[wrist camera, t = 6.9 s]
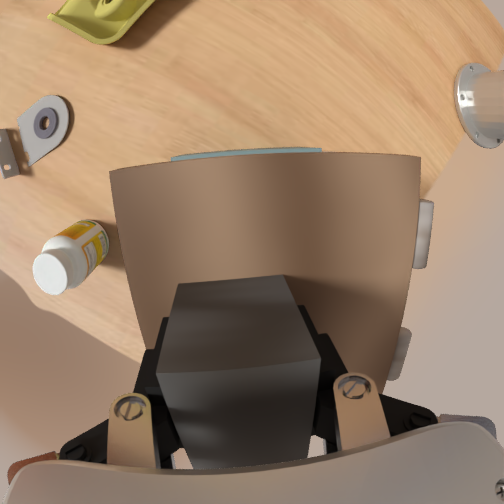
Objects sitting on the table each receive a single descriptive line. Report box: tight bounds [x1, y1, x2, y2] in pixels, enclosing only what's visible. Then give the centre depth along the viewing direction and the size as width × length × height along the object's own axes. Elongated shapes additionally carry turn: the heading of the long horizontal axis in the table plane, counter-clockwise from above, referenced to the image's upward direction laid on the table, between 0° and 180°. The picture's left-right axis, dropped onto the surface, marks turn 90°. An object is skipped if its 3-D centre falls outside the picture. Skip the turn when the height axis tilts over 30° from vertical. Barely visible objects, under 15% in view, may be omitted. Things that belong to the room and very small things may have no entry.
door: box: [109, 152, 434, 469], centre depth 11 cm, size 13×14×6 cm
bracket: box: [0, 95, 69, 179], centre depth 24 cm, size 7×10×3 cm, turn 110°
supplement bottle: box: [33, 220, 109, 295], centre depth 26 cm, size 5×5×10 cm
